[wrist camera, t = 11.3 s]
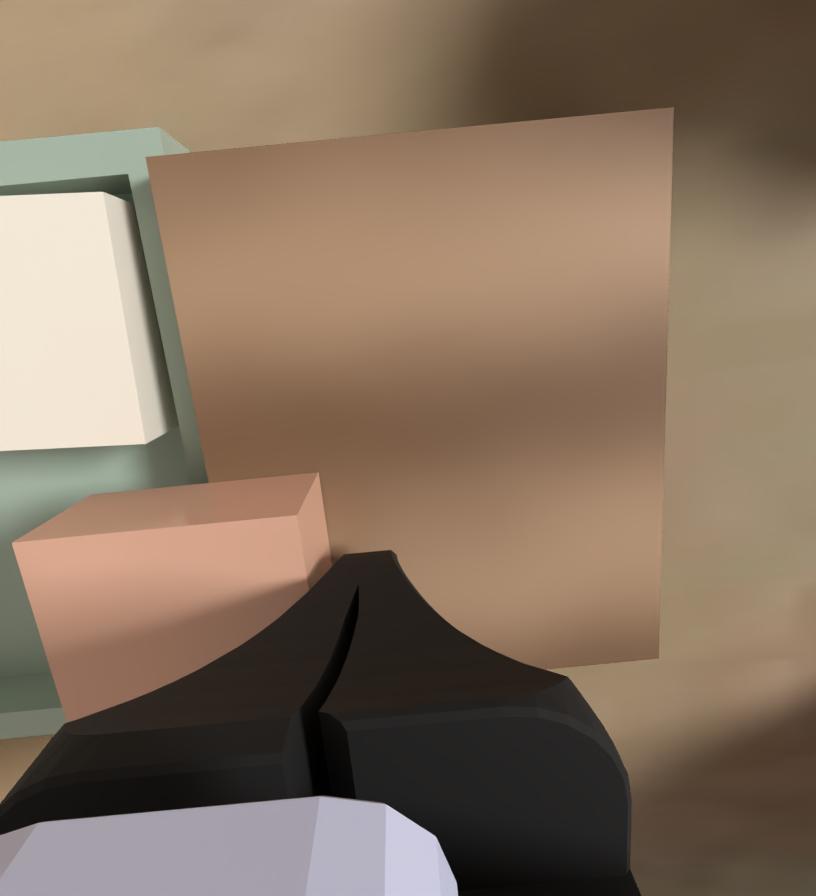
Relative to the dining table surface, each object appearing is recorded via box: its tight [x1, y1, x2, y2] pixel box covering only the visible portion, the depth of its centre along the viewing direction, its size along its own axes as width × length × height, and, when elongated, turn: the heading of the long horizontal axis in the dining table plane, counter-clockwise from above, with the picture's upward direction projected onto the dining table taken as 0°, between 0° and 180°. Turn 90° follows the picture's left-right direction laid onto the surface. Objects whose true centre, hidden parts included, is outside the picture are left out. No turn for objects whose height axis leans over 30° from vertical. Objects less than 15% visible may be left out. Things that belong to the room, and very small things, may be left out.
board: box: [145, 107, 674, 670], centre depth 13 cm, size 12×10×3 cm
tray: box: [0, 127, 209, 739], centre depth 14 cm, size 14×11×2 cm
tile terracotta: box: [12, 472, 332, 722], centre depth 11 cm, size 5×5×2 cm
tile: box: [0, 192, 179, 451], centre depth 12 cm, size 5×5×2 cm
